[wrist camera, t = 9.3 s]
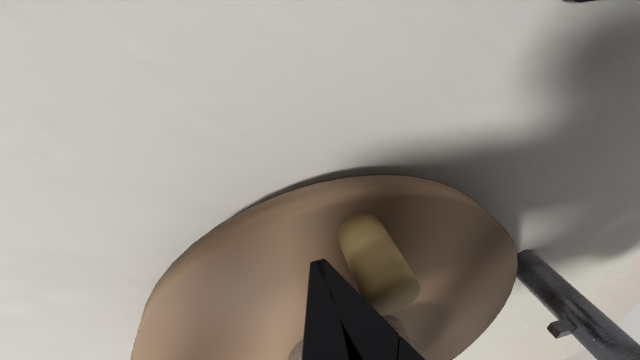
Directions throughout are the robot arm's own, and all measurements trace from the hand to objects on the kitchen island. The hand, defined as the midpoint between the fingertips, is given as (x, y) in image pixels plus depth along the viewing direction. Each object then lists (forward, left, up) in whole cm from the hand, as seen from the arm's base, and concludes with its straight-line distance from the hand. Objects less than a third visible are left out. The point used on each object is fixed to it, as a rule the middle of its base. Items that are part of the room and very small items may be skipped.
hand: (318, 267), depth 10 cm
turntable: (-1, +9, -4) cm, 10 cm away
